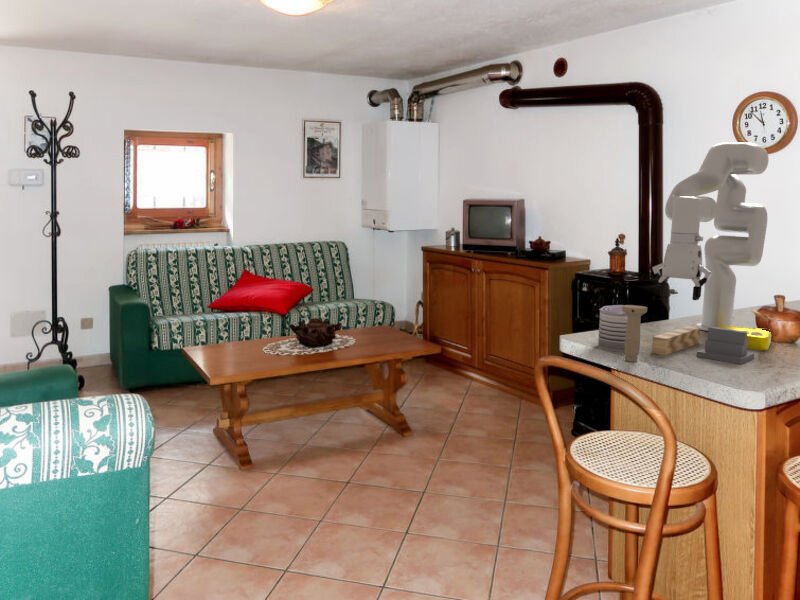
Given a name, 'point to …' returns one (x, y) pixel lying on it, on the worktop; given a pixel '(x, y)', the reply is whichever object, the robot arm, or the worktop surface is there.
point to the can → (612, 328)
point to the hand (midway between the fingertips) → (679, 297)
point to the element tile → (753, 336)
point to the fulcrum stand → (726, 346)
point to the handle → (633, 331)
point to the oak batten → (675, 340)
